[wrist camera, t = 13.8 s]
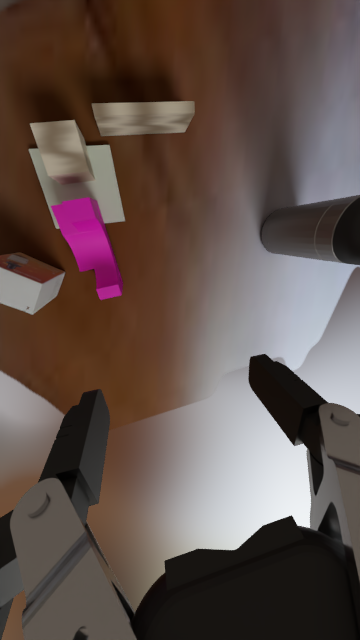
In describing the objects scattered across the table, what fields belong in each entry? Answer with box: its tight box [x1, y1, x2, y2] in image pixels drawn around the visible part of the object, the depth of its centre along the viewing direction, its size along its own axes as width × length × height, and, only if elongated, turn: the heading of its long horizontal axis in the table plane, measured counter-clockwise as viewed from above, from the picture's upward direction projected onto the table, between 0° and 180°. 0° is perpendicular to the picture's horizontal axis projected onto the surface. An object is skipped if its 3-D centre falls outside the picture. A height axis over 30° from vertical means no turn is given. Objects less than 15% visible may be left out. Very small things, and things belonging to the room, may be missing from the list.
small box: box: [0, 252, 65, 314], centre depth 33 cm, size 8×6×10 cm
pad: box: [29, 145, 125, 229], centre depth 33 cm, size 12×11×1 cm
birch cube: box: [30, 120, 96, 185], centre depth 29 cm, size 6×6×6 cm
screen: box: [92, 101, 195, 136], centre depth 29 cm, size 14×3×6 cm, turn 96°
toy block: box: [51, 197, 123, 300], centre depth 34 cm, size 15×6×8 cm, turn 10°
